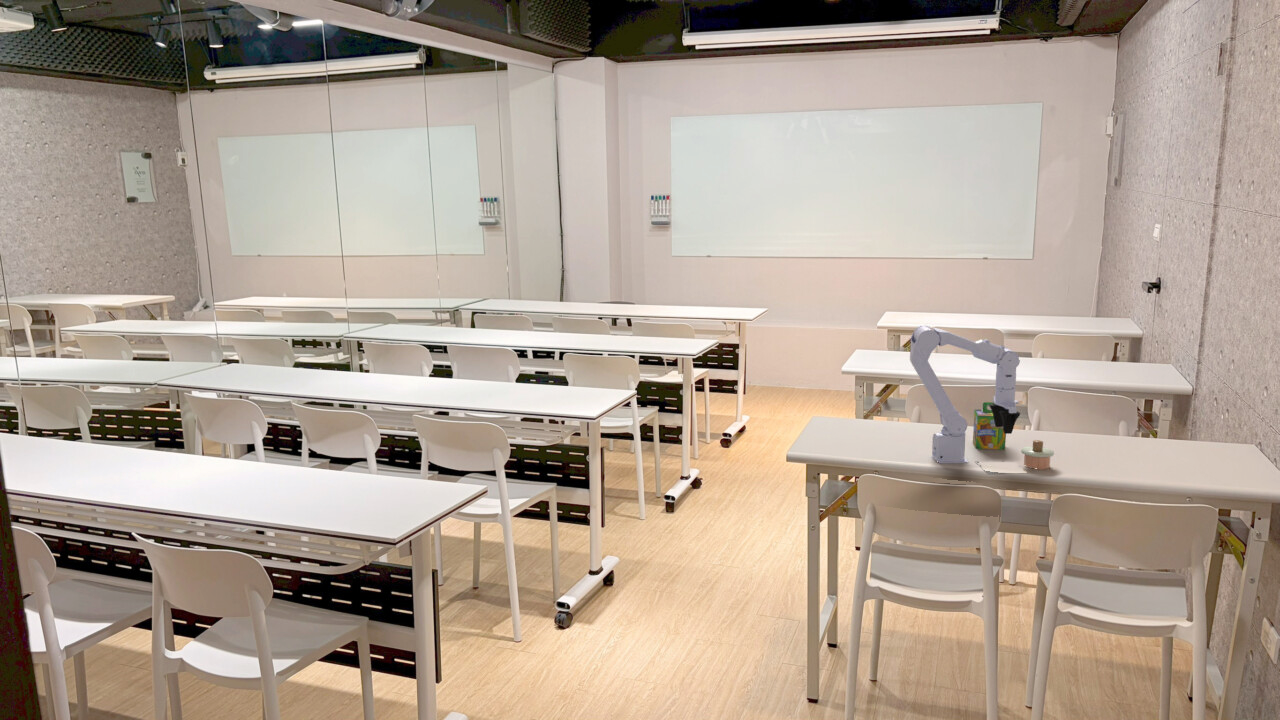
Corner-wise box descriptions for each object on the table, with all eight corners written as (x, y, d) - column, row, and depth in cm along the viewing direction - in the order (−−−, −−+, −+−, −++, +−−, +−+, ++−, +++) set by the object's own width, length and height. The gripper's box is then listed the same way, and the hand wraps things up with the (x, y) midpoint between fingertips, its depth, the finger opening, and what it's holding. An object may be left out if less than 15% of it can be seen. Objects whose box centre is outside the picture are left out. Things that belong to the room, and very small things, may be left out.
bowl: (1029, 470, 258) (1030, 456, 257) (1020, 463, 265) (1021, 449, 264) (1053, 470, 258) (1054, 456, 257) (1043, 463, 265) (1044, 449, 264)
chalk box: (975, 450, 280) (977, 406, 277) (972, 442, 289) (973, 399, 286) (1006, 451, 278) (1008, 406, 275) (1001, 443, 287) (1003, 400, 284)
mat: (987, 475, 256) (987, 473, 256) (974, 462, 268) (974, 461, 267) (1028, 474, 255) (1029, 473, 255) (1013, 462, 267) (1014, 460, 267)
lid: (1028, 457, 256) (1029, 446, 256) (1016, 448, 265) (1017, 437, 265) (1059, 457, 256) (1059, 445, 255) (1046, 448, 265) (1046, 437, 264)
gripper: (1027, 392, 257) (1025, 436, 260) (1010, 382, 271) (1008, 423, 274) (1003, 393, 257) (1001, 436, 260) (987, 382, 272) (985, 423, 274)
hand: (1003, 429), depth 267 cm, fingers open, 7 cm apart
